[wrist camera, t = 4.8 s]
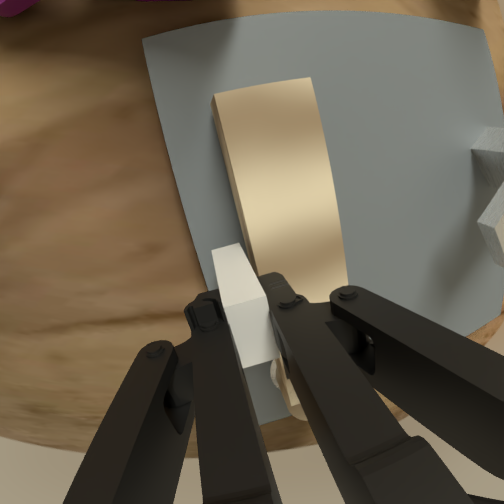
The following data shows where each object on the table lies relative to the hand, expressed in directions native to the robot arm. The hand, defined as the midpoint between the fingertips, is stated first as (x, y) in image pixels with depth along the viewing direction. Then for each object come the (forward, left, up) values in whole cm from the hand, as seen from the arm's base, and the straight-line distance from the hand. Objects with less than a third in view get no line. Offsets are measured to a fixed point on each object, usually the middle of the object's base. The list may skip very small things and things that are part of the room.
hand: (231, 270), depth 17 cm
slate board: (+12, 0, -3) cm, 12 cm away
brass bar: (+3, -2, -1) cm, 4 cm away
